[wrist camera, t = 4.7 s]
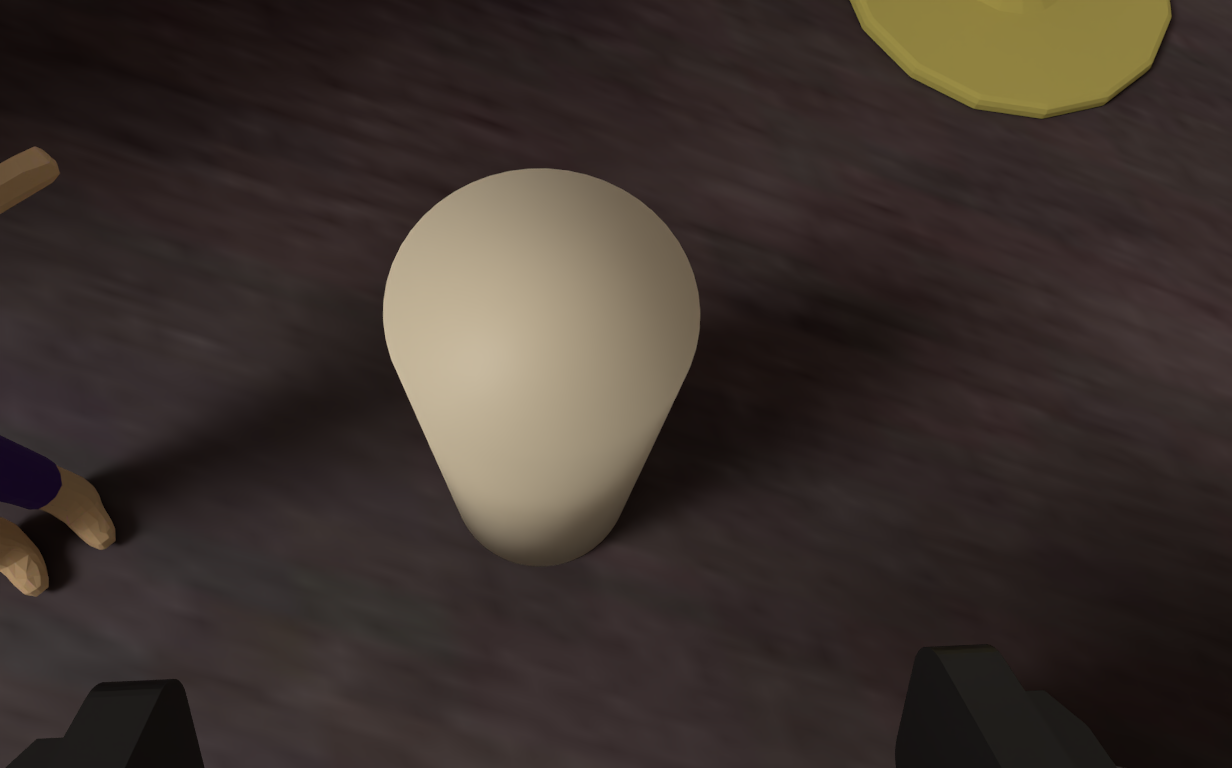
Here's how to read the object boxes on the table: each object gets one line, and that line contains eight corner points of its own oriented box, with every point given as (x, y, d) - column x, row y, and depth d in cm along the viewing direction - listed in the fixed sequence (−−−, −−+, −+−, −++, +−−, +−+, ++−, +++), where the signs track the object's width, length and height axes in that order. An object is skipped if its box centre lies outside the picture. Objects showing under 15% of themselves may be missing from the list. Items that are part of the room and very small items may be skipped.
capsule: (637, 409, 22) (714, 194, 12) (615, 578, 20) (683, 482, 11) (470, 384, 22) (418, 147, 12) (438, 552, 20) (350, 433, 11)
